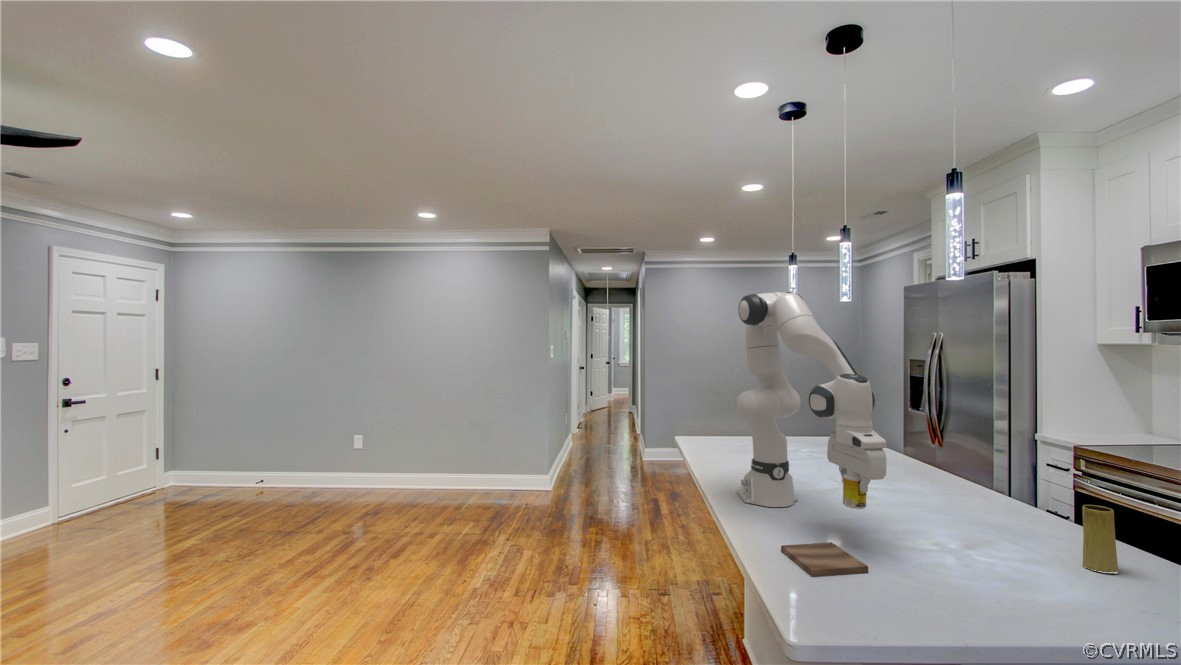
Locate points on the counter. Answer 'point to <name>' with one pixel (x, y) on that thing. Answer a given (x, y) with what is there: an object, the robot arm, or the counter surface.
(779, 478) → the robot arm
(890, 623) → the counter surface
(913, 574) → the counter surface
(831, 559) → the walnut board
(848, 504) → the supplement bottle
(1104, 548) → the vase
